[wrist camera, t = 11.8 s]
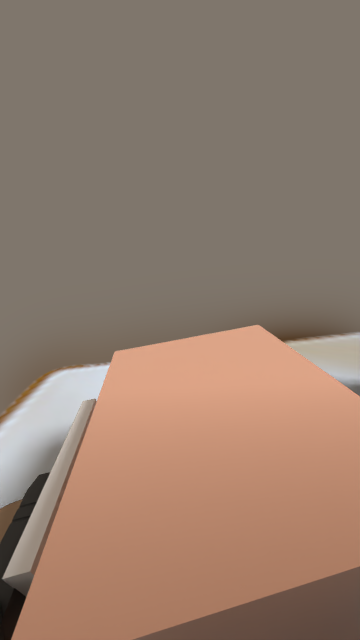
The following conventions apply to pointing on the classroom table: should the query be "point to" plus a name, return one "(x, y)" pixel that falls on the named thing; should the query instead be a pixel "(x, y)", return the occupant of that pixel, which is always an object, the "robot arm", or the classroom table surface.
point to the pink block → (208, 501)
